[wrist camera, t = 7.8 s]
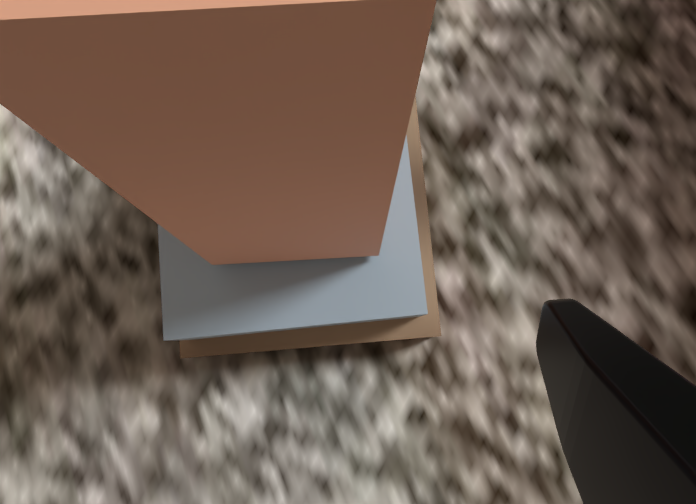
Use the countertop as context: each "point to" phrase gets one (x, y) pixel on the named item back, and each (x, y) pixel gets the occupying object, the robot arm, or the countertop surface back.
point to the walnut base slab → (355, 331)
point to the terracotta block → (228, 112)
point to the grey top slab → (296, 283)
